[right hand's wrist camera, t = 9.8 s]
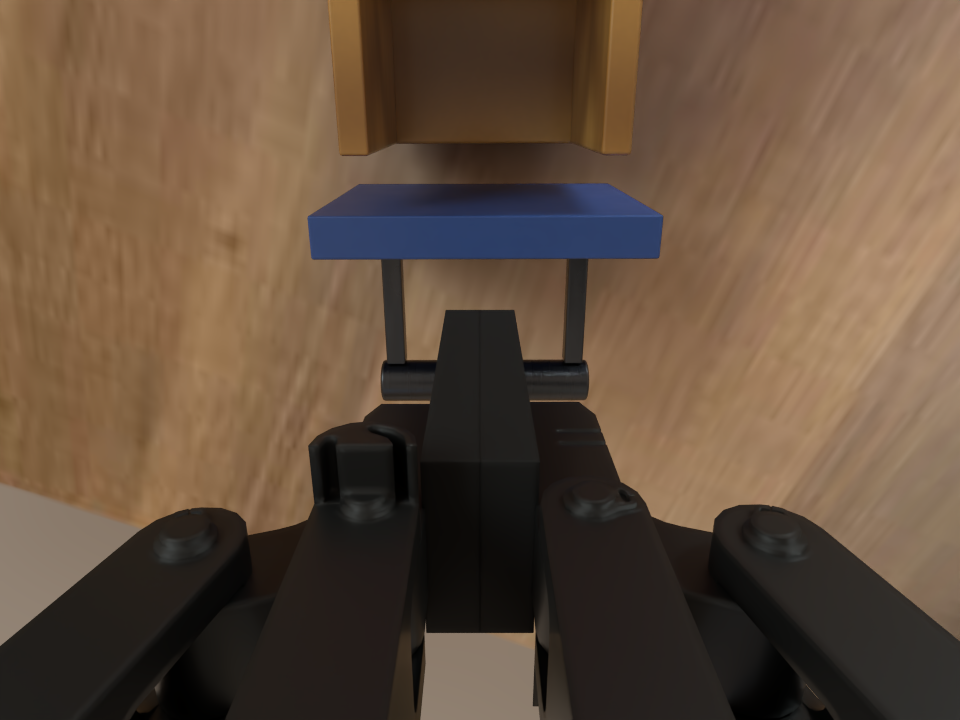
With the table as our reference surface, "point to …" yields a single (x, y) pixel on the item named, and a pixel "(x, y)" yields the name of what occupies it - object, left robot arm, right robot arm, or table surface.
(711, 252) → the table surface
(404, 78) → the drawer
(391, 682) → the right robot arm
